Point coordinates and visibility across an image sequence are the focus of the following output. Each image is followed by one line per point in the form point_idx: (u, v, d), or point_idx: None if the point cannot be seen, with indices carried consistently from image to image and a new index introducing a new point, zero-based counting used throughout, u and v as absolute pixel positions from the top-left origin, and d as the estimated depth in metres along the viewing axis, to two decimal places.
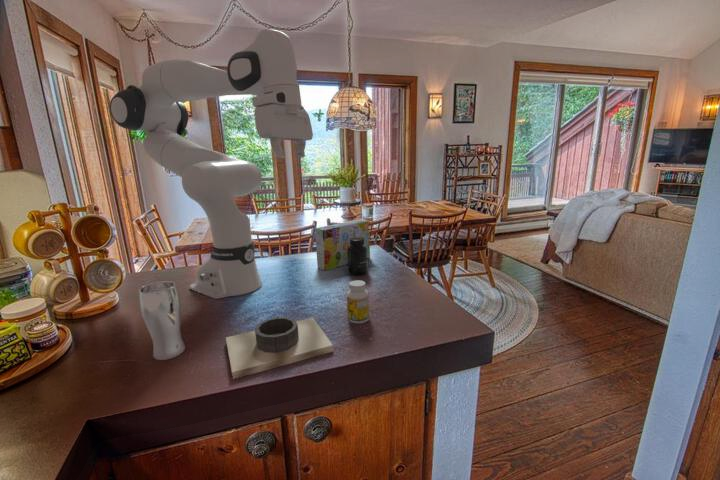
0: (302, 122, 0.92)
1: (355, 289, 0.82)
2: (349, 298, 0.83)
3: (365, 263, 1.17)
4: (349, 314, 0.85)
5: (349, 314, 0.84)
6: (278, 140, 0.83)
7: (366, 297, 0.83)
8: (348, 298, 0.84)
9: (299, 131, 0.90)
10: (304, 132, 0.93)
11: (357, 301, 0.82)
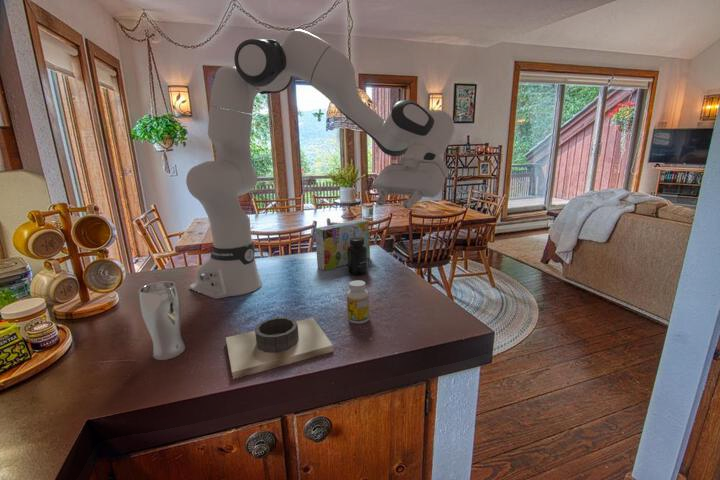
0: None
1: (355, 289, 0.82)
2: (349, 298, 0.83)
3: (365, 263, 1.17)
4: (349, 314, 0.85)
5: (349, 314, 0.84)
6: None
7: (366, 297, 0.83)
8: (348, 298, 0.84)
9: None
10: None
11: (357, 301, 0.82)
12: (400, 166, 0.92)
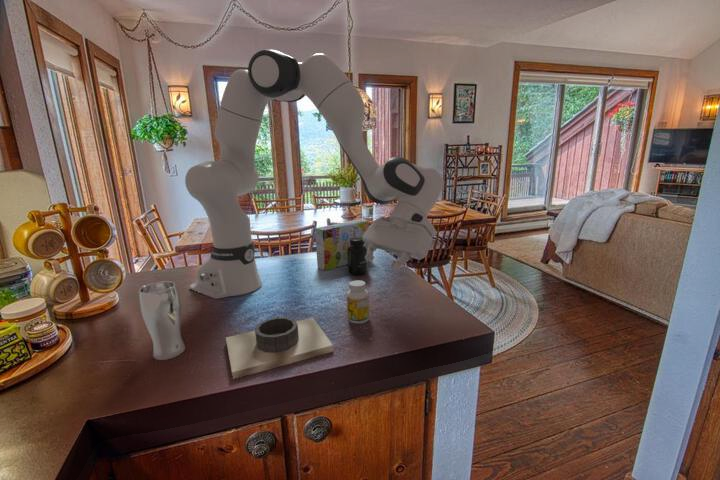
0: None
1: (355, 289, 0.82)
2: (349, 298, 0.83)
3: (365, 263, 1.17)
4: (349, 314, 0.85)
5: (349, 314, 0.84)
6: None
7: (366, 297, 0.83)
8: (348, 298, 0.84)
9: None
10: None
11: (357, 301, 0.82)
12: (389, 222, 0.93)
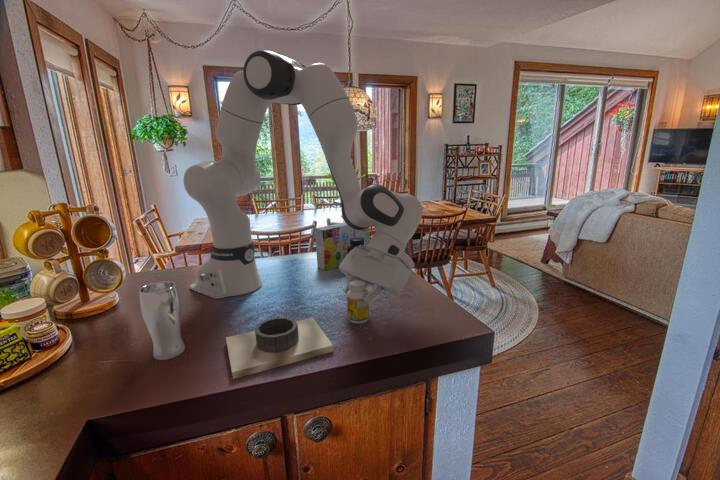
0: None
1: (355, 288, 0.82)
2: (349, 298, 0.83)
3: None
4: (349, 314, 0.85)
5: (349, 314, 0.84)
6: None
7: None
8: (348, 298, 0.84)
9: None
10: None
11: (357, 300, 0.82)
12: (366, 252, 0.89)
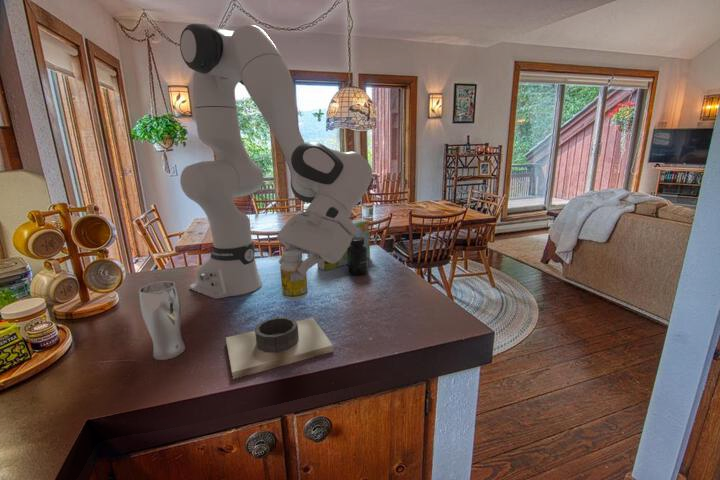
0: None
1: (288, 259, 0.71)
2: (282, 270, 0.72)
3: (365, 263, 1.17)
4: (283, 289, 0.73)
5: (283, 289, 0.73)
6: None
7: None
8: (281, 270, 0.72)
9: None
10: None
11: (290, 273, 0.71)
12: (306, 218, 0.78)
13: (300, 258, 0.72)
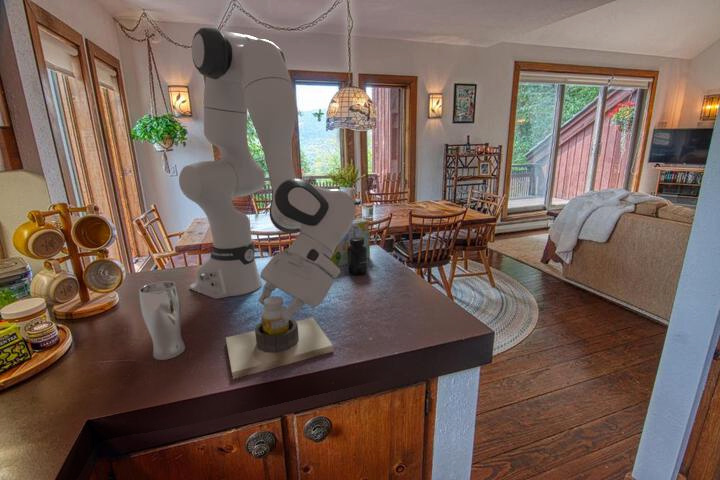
0: None
1: (268, 307, 0.71)
2: (263, 317, 0.71)
3: (365, 263, 1.17)
4: None
5: None
6: None
7: None
8: (262, 317, 0.72)
9: None
10: None
11: (270, 321, 0.70)
12: (288, 257, 0.77)
13: (281, 305, 0.72)
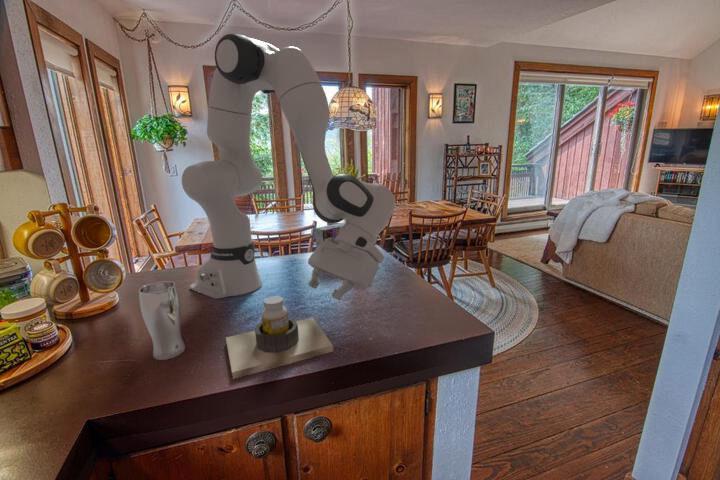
0: None
1: (268, 307, 0.71)
2: (263, 317, 0.71)
3: None
4: None
5: None
6: None
7: (283, 316, 0.71)
8: (262, 317, 0.72)
9: None
10: None
11: (271, 321, 0.70)
12: (335, 245, 0.85)
13: (281, 305, 0.72)
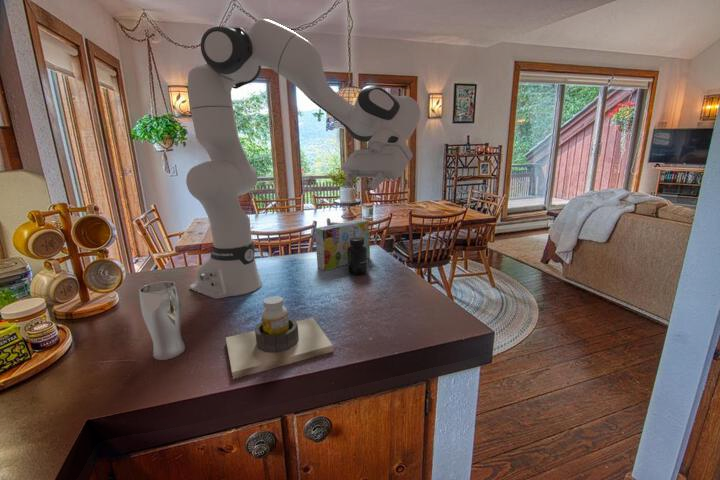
0: None
1: (268, 307, 0.71)
2: (263, 317, 0.71)
3: (365, 263, 1.17)
4: None
5: None
6: None
7: (282, 316, 0.71)
8: (262, 317, 0.72)
9: None
10: None
11: (271, 321, 0.70)
12: (367, 150, 0.95)
13: (281, 305, 0.72)
